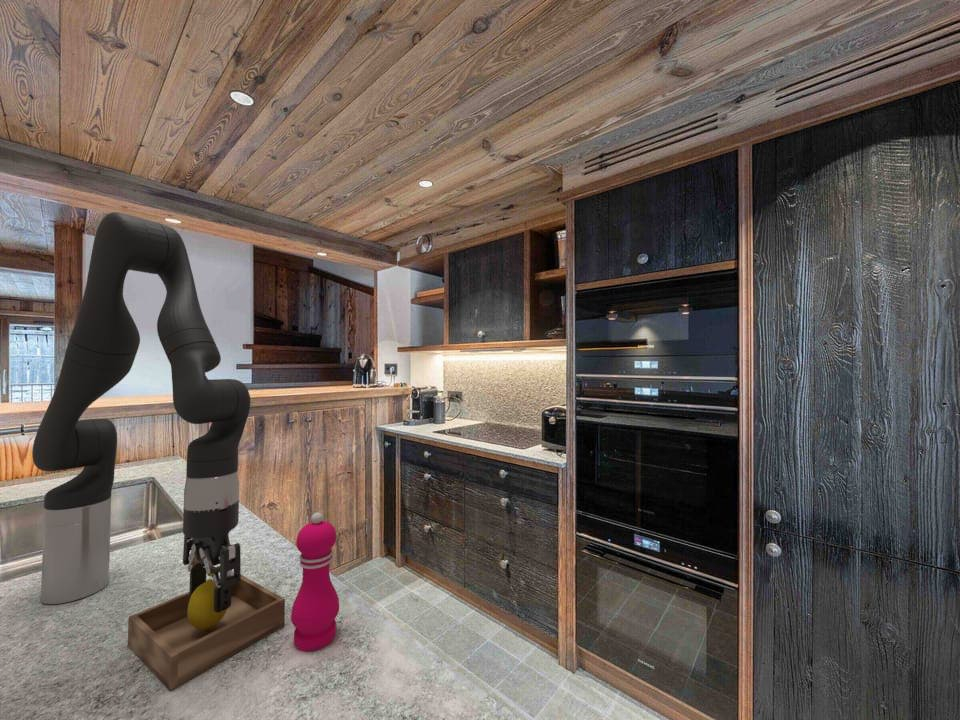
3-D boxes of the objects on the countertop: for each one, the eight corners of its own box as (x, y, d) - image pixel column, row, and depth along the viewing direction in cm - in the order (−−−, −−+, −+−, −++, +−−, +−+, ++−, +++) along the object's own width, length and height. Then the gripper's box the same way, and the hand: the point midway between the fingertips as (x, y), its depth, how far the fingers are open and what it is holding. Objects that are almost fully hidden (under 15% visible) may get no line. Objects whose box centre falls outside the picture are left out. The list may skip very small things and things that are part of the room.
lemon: (206, 643, 60) (208, 590, 61) (177, 638, 62) (179, 586, 62) (235, 622, 66) (237, 573, 66) (209, 617, 67) (210, 569, 67)
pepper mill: (291, 660, 58) (293, 524, 59) (289, 631, 65) (291, 509, 65) (342, 644, 61) (343, 516, 62) (335, 618, 68) (337, 502, 68)
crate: (127, 645, 61) (128, 616, 61) (236, 596, 75) (236, 572, 75) (170, 691, 52) (171, 657, 53) (284, 625, 66) (284, 598, 66)
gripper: (166, 499, 65) (163, 598, 64) (206, 516, 57) (203, 629, 57) (216, 487, 71) (214, 577, 71) (258, 502, 63) (256, 603, 63)
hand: (209, 600), depth 64 cm, fingers open, 8 cm apart
